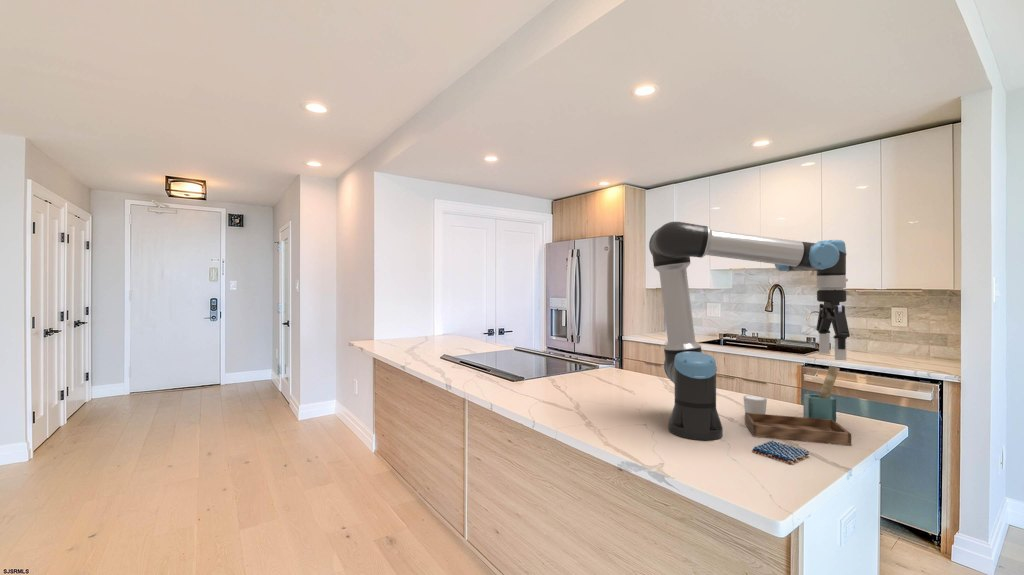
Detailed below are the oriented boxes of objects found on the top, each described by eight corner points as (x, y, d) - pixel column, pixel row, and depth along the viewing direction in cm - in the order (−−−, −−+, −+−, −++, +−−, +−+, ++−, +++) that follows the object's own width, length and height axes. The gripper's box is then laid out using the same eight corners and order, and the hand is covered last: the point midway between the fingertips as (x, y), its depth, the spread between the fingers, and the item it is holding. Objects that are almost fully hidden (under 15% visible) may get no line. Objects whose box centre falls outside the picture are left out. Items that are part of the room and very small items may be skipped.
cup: (809, 426, 138) (809, 397, 138) (803, 421, 143) (803, 393, 143) (836, 428, 136) (836, 399, 136) (829, 423, 141) (829, 395, 141)
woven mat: (812, 458, 113) (812, 450, 113) (792, 467, 108) (792, 459, 108) (771, 446, 122) (771, 439, 122) (750, 454, 117) (750, 446, 117)
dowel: (812, 421, 139) (814, 365, 139) (809, 419, 142) (811, 363, 141) (839, 424, 137) (841, 366, 137) (835, 422, 139) (837, 365, 139)
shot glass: (765, 417, 148) (765, 396, 148) (768, 422, 142) (768, 401, 142) (742, 414, 151) (742, 394, 151) (744, 420, 145) (744, 398, 145)
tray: (753, 436, 129) (753, 425, 129) (745, 422, 142) (745, 412, 142) (851, 445, 121) (851, 433, 121) (832, 430, 134) (832, 419, 134)
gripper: (863, 289, 126) (863, 363, 125) (830, 289, 149) (831, 351, 149) (832, 289, 128) (832, 362, 128) (805, 289, 152) (805, 350, 152)
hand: (832, 356), depth 139 cm, fingers open, 13 cm apart
